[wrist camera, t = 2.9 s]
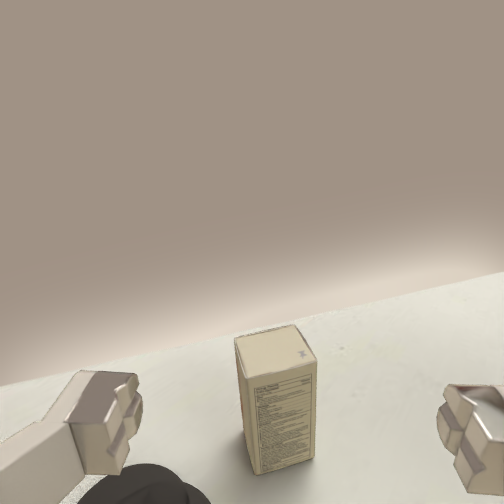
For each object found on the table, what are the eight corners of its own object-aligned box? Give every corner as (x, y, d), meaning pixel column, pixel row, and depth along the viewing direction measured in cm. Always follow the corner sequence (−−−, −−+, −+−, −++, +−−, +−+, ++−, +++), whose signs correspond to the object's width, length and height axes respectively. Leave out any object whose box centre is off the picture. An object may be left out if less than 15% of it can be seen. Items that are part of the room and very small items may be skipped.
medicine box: (295, 413, 30) (298, 322, 26) (316, 459, 26) (323, 361, 22) (239, 427, 29) (231, 334, 25) (251, 478, 25) (245, 379, 21)
